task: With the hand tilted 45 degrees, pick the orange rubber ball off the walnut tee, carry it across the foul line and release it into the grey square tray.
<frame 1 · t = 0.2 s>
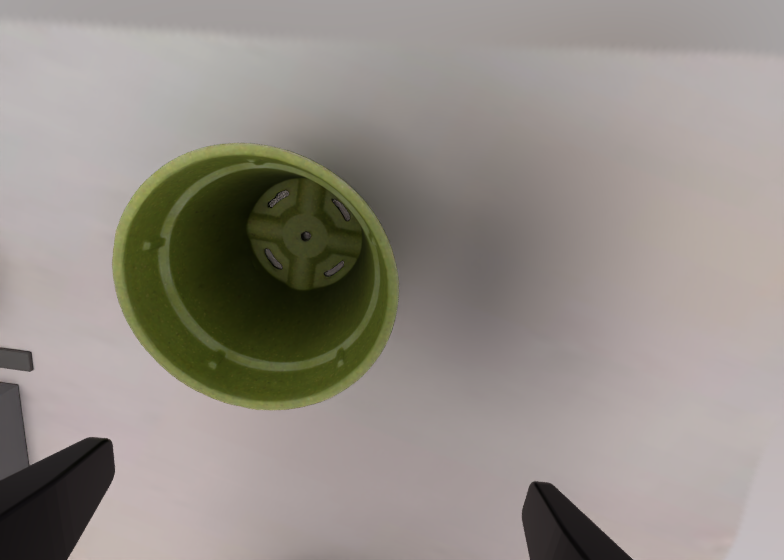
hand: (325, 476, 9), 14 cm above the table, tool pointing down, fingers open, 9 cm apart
plant pot: (306, 234, 22), on the table
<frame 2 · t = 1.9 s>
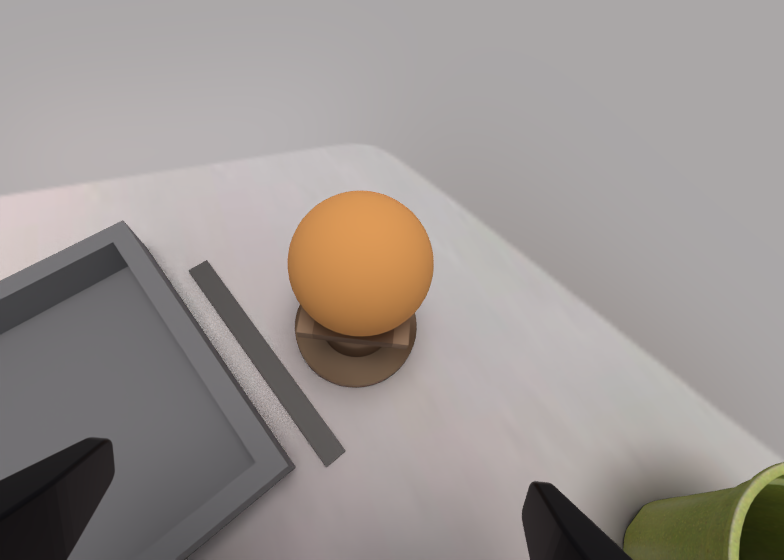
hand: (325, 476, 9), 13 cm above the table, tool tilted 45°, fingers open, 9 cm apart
ball: (359, 293, 20), point 5 cm above the table, touching tee
tee: (356, 327, 24), on the table
grey square tray: (65, 444, 20), on the table
foul line: (261, 354, 23), on the table
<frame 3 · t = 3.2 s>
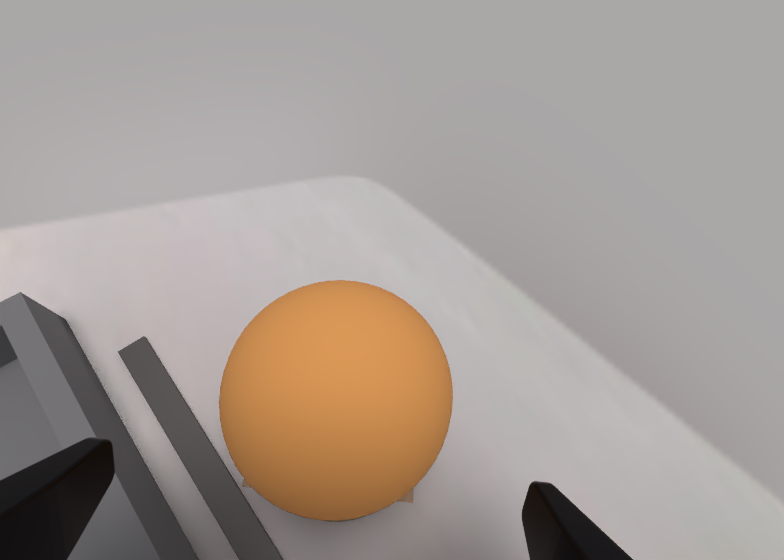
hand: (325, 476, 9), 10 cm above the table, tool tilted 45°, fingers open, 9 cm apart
ball: (340, 410, 14), point 5 cm above the table, touching tee
foul line: (210, 473, 17), on the table
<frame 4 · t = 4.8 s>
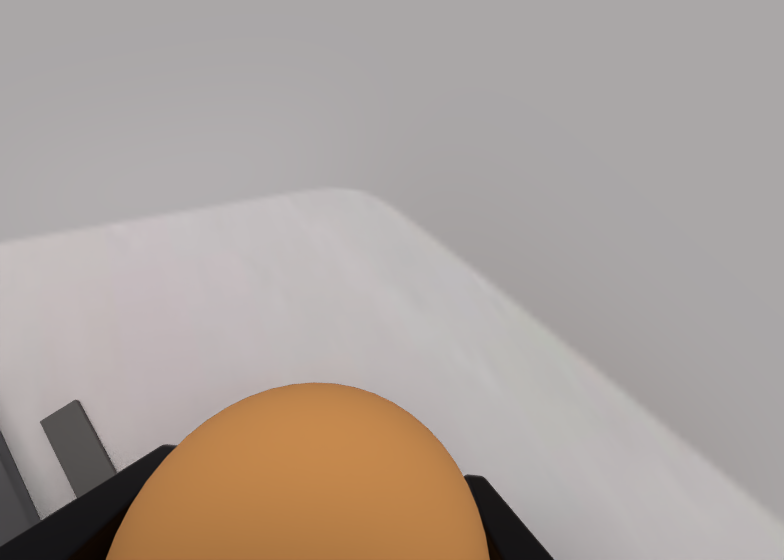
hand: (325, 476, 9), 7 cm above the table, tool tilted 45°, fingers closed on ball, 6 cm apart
ball: (318, 542, 10), point 5 cm above the table, touching gripper, tee
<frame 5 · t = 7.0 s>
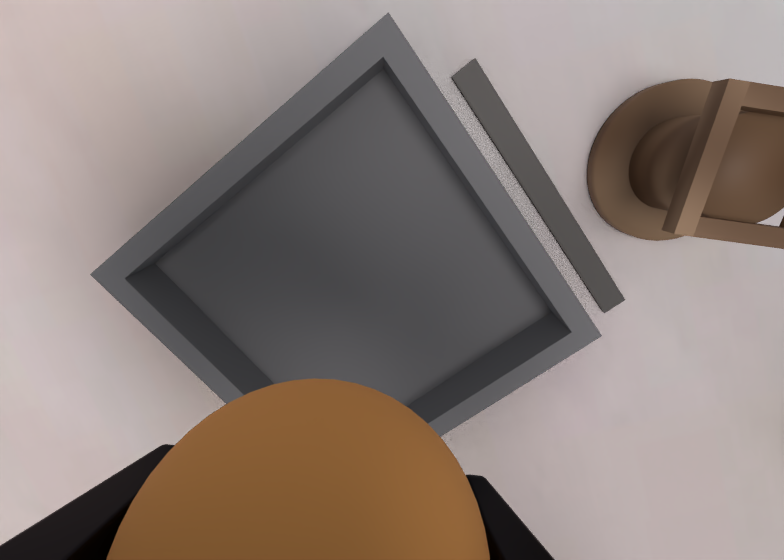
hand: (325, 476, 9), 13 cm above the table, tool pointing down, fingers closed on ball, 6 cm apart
ball: (319, 538, 10), point 12 cm above the table, tilted 45°, touching gripper
tee: (661, 163, 19), on the table
grey square tray: (359, 284, 21), on the table
foul line: (544, 197, 20), on the table
when the fingers open (4 cm above the table, at t = 8.4 s): ball drops 2 cm, resting on grey square tray.
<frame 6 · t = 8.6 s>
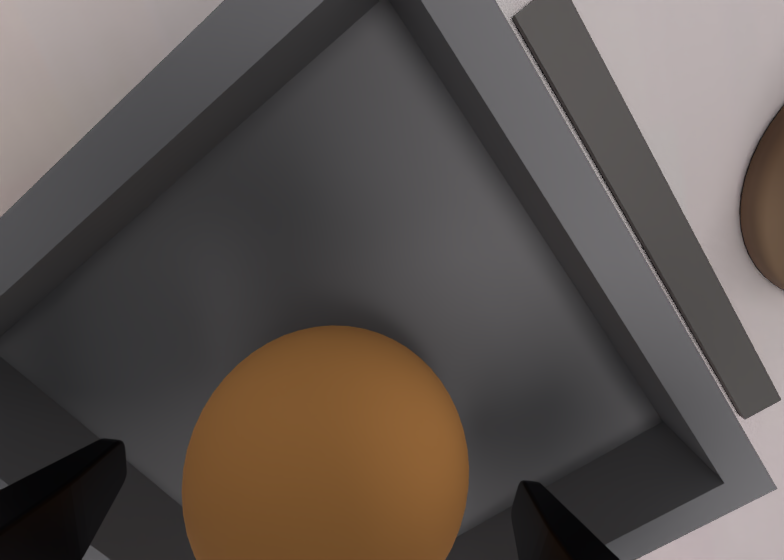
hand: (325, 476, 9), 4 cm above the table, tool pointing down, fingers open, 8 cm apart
ball: (331, 464, 12), point 1 cm above the table, tilted 45°, touching grey square tray
grey square tray: (343, 375, 13), on the table
foul line: (663, 235, 11), on the table
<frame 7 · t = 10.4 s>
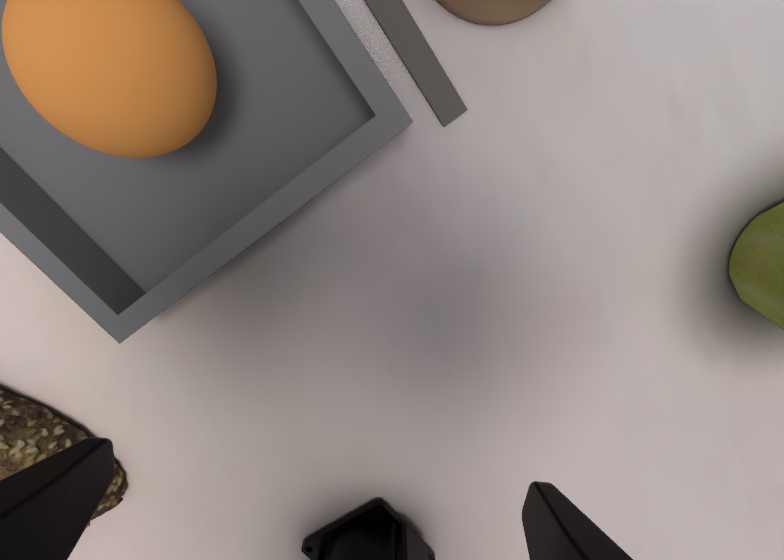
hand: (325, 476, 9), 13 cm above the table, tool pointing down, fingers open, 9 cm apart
ball: (135, 128, 17), point 2 cm above the table, tilted 49°, touching grey square tray
brown speckled mound: (12, 465, 25), on the table
grey square tray: (147, 76, 17), on the table
plant pot: (782, 252, 21), on the table
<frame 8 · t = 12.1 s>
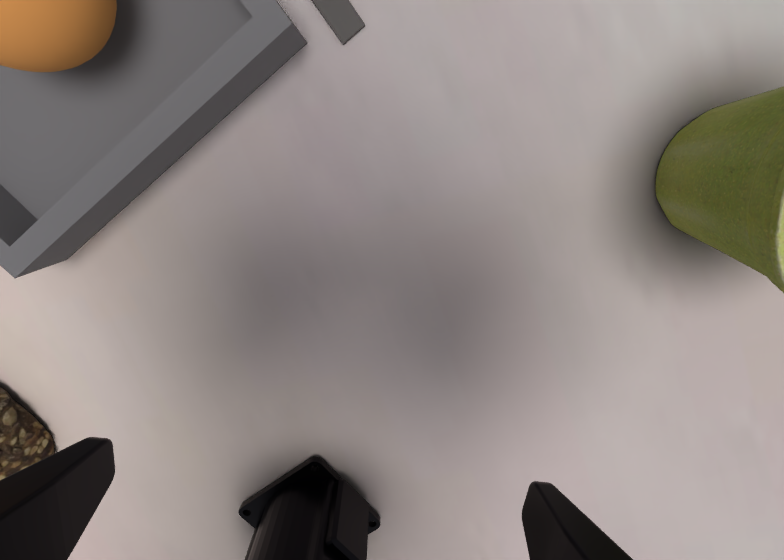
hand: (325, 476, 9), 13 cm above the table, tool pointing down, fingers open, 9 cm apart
ball: (19, 48, 16), point 2 cm above the table, tilted 57°, touching grey square tray
grey square tray: (35, 0, 17), on the table
plant pot: (711, 172, 20), on the table
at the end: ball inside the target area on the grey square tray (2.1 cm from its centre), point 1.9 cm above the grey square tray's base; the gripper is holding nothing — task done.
